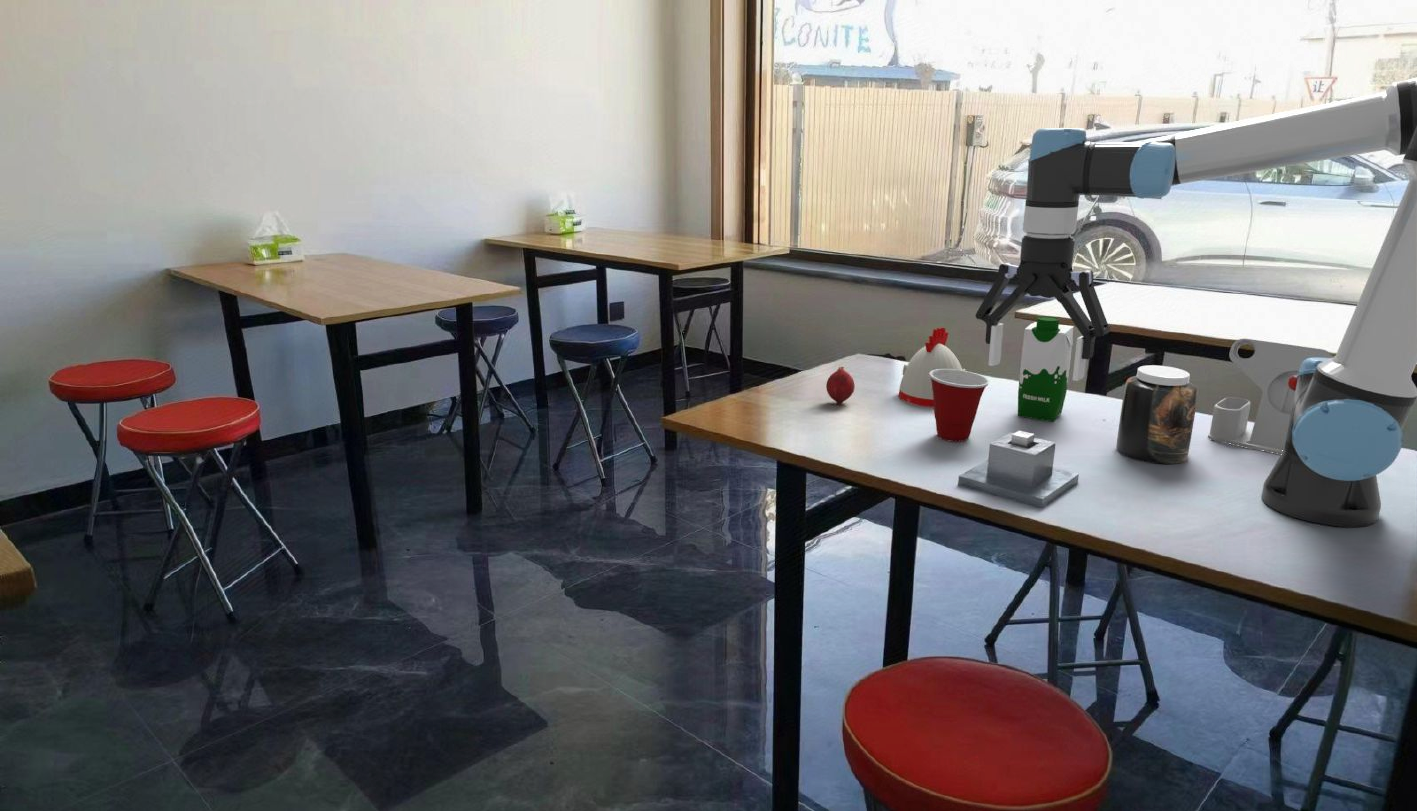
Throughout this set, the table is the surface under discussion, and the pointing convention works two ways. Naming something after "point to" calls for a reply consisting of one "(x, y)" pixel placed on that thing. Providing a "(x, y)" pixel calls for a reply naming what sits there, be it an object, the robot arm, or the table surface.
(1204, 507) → the table surface
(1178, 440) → the jar
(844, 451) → the table surface
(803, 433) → the table surface
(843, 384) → the onion
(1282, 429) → the phone holder
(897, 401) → the table surface
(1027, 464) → the block
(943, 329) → the chicken hat
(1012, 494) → the stand
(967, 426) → the plastic cup
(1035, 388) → the milk carton
